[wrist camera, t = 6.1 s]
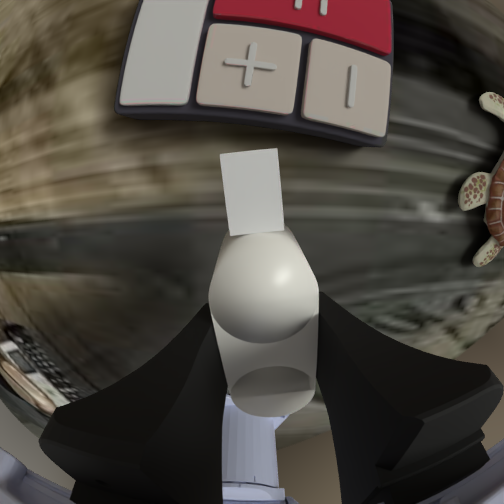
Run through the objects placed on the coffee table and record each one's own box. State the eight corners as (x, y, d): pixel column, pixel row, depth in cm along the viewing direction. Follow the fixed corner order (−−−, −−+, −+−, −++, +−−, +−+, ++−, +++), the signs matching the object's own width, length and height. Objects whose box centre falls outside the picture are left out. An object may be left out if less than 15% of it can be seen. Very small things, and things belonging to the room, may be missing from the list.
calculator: (393, 149, 12) (105, 113, 11) (360, 148, 16) (134, 120, 15) (398, -4, 9) (150, -43, 7) (370, 17, 13) (164, -13, 11)
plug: (300, 355, 13) (313, 412, 9) (239, 361, 13) (237, 419, 9) (290, 147, 9) (312, 145, 6) (206, 156, 9) (184, 159, 6)
